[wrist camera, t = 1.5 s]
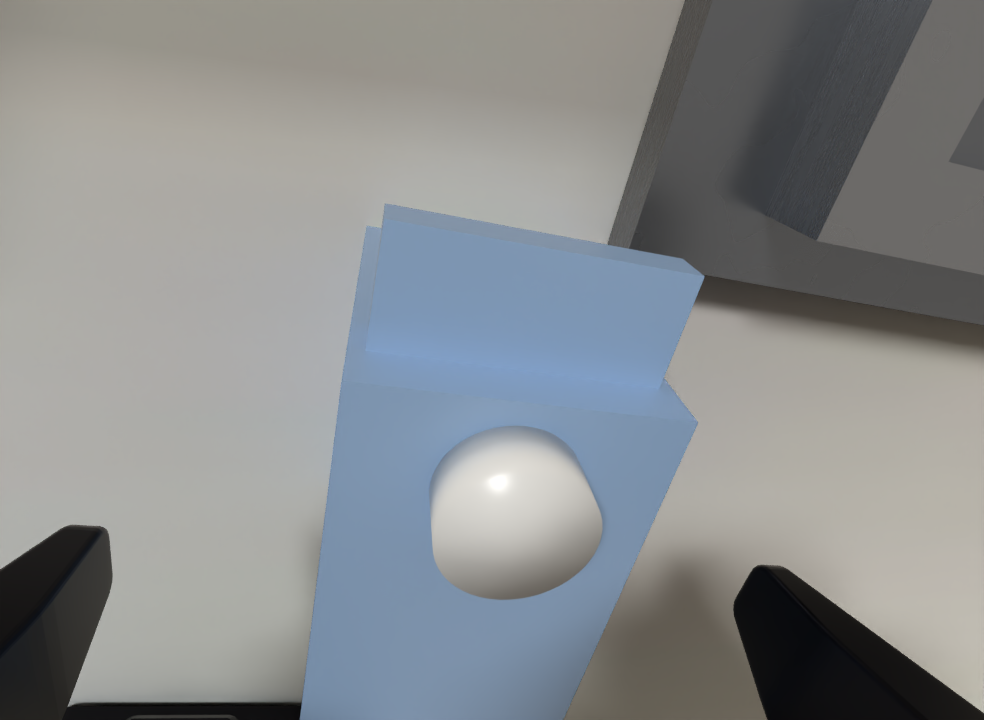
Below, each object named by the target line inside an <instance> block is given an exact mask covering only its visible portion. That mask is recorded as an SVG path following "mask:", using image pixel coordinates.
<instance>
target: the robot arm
mask: <svg viewBox="0 0 984 720" xmlns="http://www.w3.org/2000/svg"><path fill="white" fill-rule="evenodd" d="M112 576H113V575H112V562H111V551H110V540H109V534H108V531H107V530H106V529H105V528H104V527H101V526H86V525H68V526H66V527H63V528H62V529H60V530H58V531H57V532H55V533H54V534H52V535H51V536H49V537H48V538H46V539H45V540H43V541H42V542H40V543H39V544H37V545H36V546H34V547H33V548H31V549H30V550H28V551H27V552H26V553H24V554H23V555H21V556H20V557H18V558H17V559H15V560H14V561H12V562H11V563H9V564H8V565H6V566H5V567H3V568H2V569H0V720H300V714H301V706H73V707H67V706H68V704H69V701H70V698H71V696H72V693H73V690H74V688H75V685H76V682H77V679H78V677H79V674H80V671H81V669H82V666H83V663H84V661H85V658H86V655H87V653H88V650H89V647H90V644H91V642H92V639H93V636H94V634H95V631H96V628H97V626H98V623H99V620H100V618H101V615H102V612H103V609H104V607H105V604H106V601H107V599H108V596H109V593H110V589H111V585H112ZM733 611H734V617H735V621H736V624H737V627H738V630H739V633H740V637H741V640H742V643H743V646H744V649H745V652H746V656H747V659H748V662H749V665H750V668H751V671H752V674H753V678H754V681H755V684H756V687H757V690H758V693H759V697H760V700H761V703H762V706H763V709H764V711H765V714H766V717H767V720H984V713H983V712H981V711H980V710H979V709H977V708H976V707H975V706H973V705H972V704H970V703H969V702H968V701H966V700H965V699H964V698H962V697H961V696H960V695H958V694H957V693H955V692H954V691H953V690H951V689H950V688H949V687H947V686H946V685H945V684H943V683H942V682H940V681H939V680H938V679H936V678H935V677H934V676H932V675H931V674H930V673H928V672H927V671H925V670H924V669H923V668H921V667H920V666H919V665H917V664H916V663H915V662H913V661H912V660H911V659H909V658H908V657H906V656H905V655H904V654H902V653H901V652H900V651H898V650H897V649H896V648H894V647H893V646H891V645H890V644H889V643H887V642H886V641H885V640H883V639H882V638H881V637H879V636H878V635H876V634H875V633H874V632H872V631H871V630H870V629H868V628H867V627H866V626H864V625H863V624H861V623H860V622H859V621H857V620H856V619H855V618H853V617H852V616H851V615H849V614H848V613H846V612H845V611H844V610H842V609H841V608H840V607H838V606H837V605H836V604H834V603H833V602H832V601H830V600H829V599H827V598H826V597H825V596H823V595H822V594H821V593H819V592H818V591H817V590H815V589H814V588H812V587H811V586H810V585H808V584H807V583H806V582H804V581H803V580H802V579H800V578H799V577H797V576H796V575H795V574H793V573H792V572H791V571H789V570H788V569H786V568H784V567H781V566H774V565H758V566H756V567H755V568H753V570H752V571H751V573H750V574H749V576H748V578H747V579H746V581H745V583H744V585H743V586H742V588H741V590H740V592H739V593H738V595H737V597H736V599H735V601H734V607H733Z"/></svg>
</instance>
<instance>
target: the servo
mask: <svg viewBox="0 0 984 720" xmlns="http://www.w3.org/2000/svg"><path fill="white" fill-rule="evenodd" d="M704 277H705V276H704V275H702V274H701V273H700V272H699V271H697V270H696V269H695V268H694V267H692V266H691V265H690V264H689V263H687V262H686V261H685V260H684V259H681V258H676V257H671V256H665V255H660V254H654V253H649V252H644V251H638V250H633V249H627V248H622V247H617V246H611V245H606V244H601V243H595V242H590V241H584V240H579V239H574V238H568V237H563V236H557V235H552V234H547V233H541V232H536V231H531V230H525V229H520V228H514V227H509V226H504V225H498V224H493V223H487V222H482V221H477V220H471V219H466V218H461V217H455V216H450V215H444V214H439V213H434V212H428V211H423V210H417V209H412V208H407V207H401V206H396V205H391V204H385V208H384V215H383V222H382V228H377V227H371V226H367V227H366V233H365V239H364V245H363V252H362V258H361V264H360V270H359V276H358V283H357V289H356V295H355V301H354V307H353V314H352V320H351V326H350V332H349V338H348V345H347V351H346V357H345V363H344V369H343V376H342V382H341V390H340V398H339V406H338V415H337V423H336V431H335V439H334V447H333V455H332V463H331V471H330V479H329V487H328V495H327V503H326V512H325V520H324V528H323V536H322V544H321V552H320V560H319V568H318V576H317V584H316V592H315V600H314V609H313V617H312V625H311V633H310V641H309V649H308V657H307V665H306V673H305V681H304V689H303V697H302V706H301V714H300V720H563V719H564V717H565V715H566V713H567V710H568V708H569V706H570V704H571V702H572V699H573V697H574V695H575V693H576V691H577V688H578V686H579V684H580V682H581V680H582V677H583V675H584V673H585V671H586V669H587V666H588V664H589V662H590V660H591V658H592V655H593V653H594V651H595V649H596V647H597V644H598V642H599V640H600V638H601V636H602V633H603V631H604V629H605V627H606V625H607V622H608V620H609V618H610V616H611V613H612V611H613V609H614V607H615V605H616V602H617V600H618V598H619V596H620V594H621V591H622V589H623V587H624V585H625V583H626V580H627V578H628V576H629V574H630V572H631V569H632V567H633V565H634V563H635V561H636V558H637V556H638V554H639V552H640V550H641V547H642V545H643V543H644V541H645V539H646V536H647V534H648V532H649V530H650V528H651V525H652V523H653V521H654V519H655V517H656V514H657V512H658V510H659V508H660V506H661V503H662V501H663V499H664V497H665V495H666V492H667V490H668V488H669V486H670V484H671V481H672V479H673V477H674V475H675V473H676V470H677V468H678V466H679V464H680V462H681V459H682V457H683V455H684V453H685V451H686V448H687V446H688V444H689V442H690V440H691V437H692V435H693V433H694V431H695V429H696V426H697V424H698V422H697V420H696V419H695V418H694V417H693V415H692V414H691V413H690V411H689V410H688V409H687V407H686V406H685V405H684V404H683V402H682V401H681V400H680V398H679V397H678V396H677V394H676V393H675V392H674V390H673V389H672V388H671V387H670V385H669V384H668V383H667V381H666V380H665V379H664V376H665V373H666V371H667V368H668V366H669V363H670V361H671V358H672V356H673V354H674V351H675V349H676V346H677V344H678V341H679V339H680V336H681V334H682V331H683V329H684V326H685V324H686V322H687V319H688V317H689V314H690V312H691V309H692V307H693V304H694V302H695V299H696V297H697V294H698V292H699V290H700V287H701V285H702V282H703V280H704Z"/></svg>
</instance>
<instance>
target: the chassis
mask: <svg viewBox="0 0 984 720" xmlns="http://www.w3.org/2000/svg"><path fill="white" fill-rule="evenodd" d="M608 244H609V245H611V246H617V247H622V248H627V249H633V250H638V251H644V252H649V253H654V254H660V255H665V256H671V257H676V258H681V259H684V260H685V261H686V262H687V263H689V264H690V265H691V266H692V267H694V268H695V269H696V270H697V271H699V272H700V273H701V274H702V275H708V276H713V277H719V278H724V279H730V280H735V281H741V282H746V283H752V284H758V285H763V286H769V287H774V288H780V289H785V290H791V291H796V292H802V293H807V294H813V295H818V296H824V297H830V298H835V299H841V300H846V301H852V302H857V303H863V304H868V305H874V306H879V307H885V308H890V309H896V310H902V311H907V312H913V313H918V314H924V315H929V316H935V317H940V318H946V319H951V320H957V321H962V322H968V323H974V324H979V325H984V0H685V3H684V6H683V9H682V12H681V15H680V18H679V22H678V25H677V28H676V31H675V34H674V37H673V40H672V43H671V47H670V50H669V53H668V56H667V59H666V62H665V65H664V68H663V72H662V75H661V78H660V81H659V84H658V87H657V90H656V94H655V97H654V100H653V103H652V106H651V109H650V112H649V115H648V119H647V122H646V125H645V128H644V131H643V134H642V137H641V140H640V144H639V147H638V150H637V153H636V156H635V159H634V162H633V166H632V169H631V172H630V175H629V178H628V181H627V184H626V187H625V191H624V194H623V197H622V200H621V203H620V206H619V209H618V212H617V216H616V219H615V222H614V225H613V228H612V231H611V234H610V238H609V241H608Z"/></svg>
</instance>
